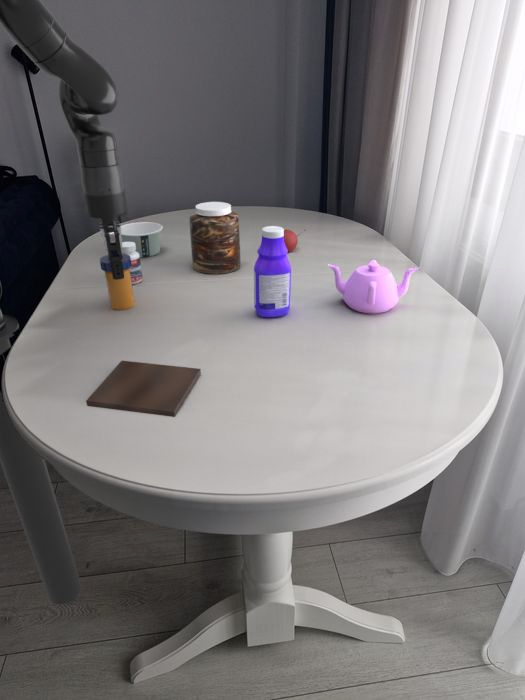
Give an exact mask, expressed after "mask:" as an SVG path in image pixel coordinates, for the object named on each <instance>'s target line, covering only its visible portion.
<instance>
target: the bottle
mask: <svg viewBox="0 0 525 700" xmlns="http://www.w3.org/2000/svg"><path fill="white" fill-rule="evenodd" d="M284 230H285V228H283V226H282V227H281V226H278V225H269V226H263V227H262V229H261V242H260V245H259V246H258V249H257V254H258V257H257V259H256V261H255V263H254V265H253V304H254V309H255V312H256V313H257V315H258V316H260V317H261V318H277V317H283V316H286V315H288V313H289V311H290V307H291V288H292V287H291V286H292V265H291V263H290V260H289V258H288V253H289V252H288V250H287V248H286V246H285V243H284Z"/></svg>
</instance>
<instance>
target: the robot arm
mask: <svg viewBox="0 0 525 700" xmlns="http://www.w3.org/2000/svg"><path fill="white" fill-rule="evenodd" d="M0 25H1V27H2V28H3V29H4V31H5V32H6V33H7V35H8V36H9V37H10V38H11V39H12V40H13V41H14V42H15V44H16V45H17V46H18V47H19V48H20V49H21V50H22V51H23V53H24V54H25V55H26V56H28V58H29V59H30V60H31V62H33V63H34V65H36V67H37V68H38V69H39V70H41V71H42V72H43V73H45V74H47V75H50V76H54V77H55V78H58V79H59V82H58V88H57V90H58V91H57V92H58V99H59V103H60V107H61V110H62V112H63V115H64V117H65V120H66V123H67V124H68V125H67V126H68V128H69V129H70V132H71V134H72V136H73V139H74V140H75V144H76V150H77V156H78V162H79V167H80V180H81V185H82V190H83V191H82V192H83V196H84V202H85V207H86V213H87V216H89V217H90V218H93V219H101V221H102V222H101V223H98V224H99V230H100V236H101V237H102V240H103V241H102V242H103V246H104V247H103V248H104V250H105V251H107V255H109V257H108V259H109V260H110V263H111V269H112V275H113V279H115V280H117V279H123V278H124V271H123V265H122V260H123V256H122V253H121V249H122V247H123V245H122V239H121V233H122V231H121V226H122V225H121V222H120V221H116V218H118V217H123V216H124V215H127V213H128V204H127V197H126V190H125V183H124V176H123V172H122V168H121V166H120V164H121V163H120V159H119V158H120V157H119V152H118V151H119V150H118V145H117V140H116V137H115V134H114V133H113V132H112V131H111V130H109V129H107V128H106V127H104V126H103V125H102V123H101V121H100V118H99V116H104V115H108V114H111V113H112V112H114V110H115V109H116V107H117V105H118V102H119V92H118V87H117V85H116V82H115V81H114V79H113V77H112V75H111V74H110V73H109V71H108V70H107V69H106V68H105V67H104V66H103V65H102V64H101V63H100V62H99V61H97V60H96V59H95V58H94V57H93V56H92V55H91V54H90V53H88V52H87V51H86V50H85V49H84V48H83V47H81V46H80V45H79V44H78V43H76V42H75V41H74V40H73V39H72V38H71V37H70V35H69V34H68V33H67V31H66V30H65V28H63V26H62V25H61V24H60V23H59V21H57V19H56V18H55V17H54V15H53V14H52V12H51V11H50V10H49V9H48V8H47V6H45V5H44V3H43V2H42V0H0ZM116 253H119V254H118V255H111V254H116ZM2 314H3V312H2V309H1V308H0V331H1V330H2V329H3V328H4V327H5V325H6V324H5V320H4V318H3V316H2Z"/></svg>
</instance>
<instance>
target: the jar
mask: <svg viewBox="0 0 525 700" xmlns="http://www.w3.org/2000/svg"><path fill="white" fill-rule="evenodd" d="M189 236H190V248H191V249H190V250H191V260H192V261H191V262H192V268H193V270H194V271H197V272H200V273H202V274H208V275H223V274H229V273H232V272H236V271H237V270H239V269H240V268H241V236H240V221H239V215H238V213H237V212H235V211H232V204H231V203H228V202H223V201H206V202H201V203H198V204H196V205H195V211H194V212H193V213H191V214H190V215H189Z"/></svg>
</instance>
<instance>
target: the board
mask: <svg viewBox="0 0 525 700" xmlns="http://www.w3.org/2000/svg"><path fill="white" fill-rule="evenodd" d="M201 374H202V371H201V368H196V367H187V366H179V365H167V364H159V363H151V362H149V363H148V362H139V361H129V360H120V361H119V363H118V364H117V365H116V366H115V367H114V368H113V370H112V371H111V372H110V373H109V374H108V375H107V376H106V378H105V379H104V380H103V381H102V382H101V383H100V384H99V386H98V387H97V388H96V389H95V390H94V391H93V392H92V393H91V395H90V396H89V397H87V399H86V400H85V403H86V406H87V407H92V408H100V409H109V410H115V411H122V412H123V411H125V412H130V413H131V412H133V413H140V414H147V415H157V416H165V417H171V418H175V417H176V416H177V414H178V413H179V411H180V409H181V408H182V406H183V404H184V403H185V401H186V399H187V398H188V396H189V395H190V393H191V391H192V389H193V388H194V386H195V384H196V383H197V381H198V380H199V378H200V377H201Z"/></svg>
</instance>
